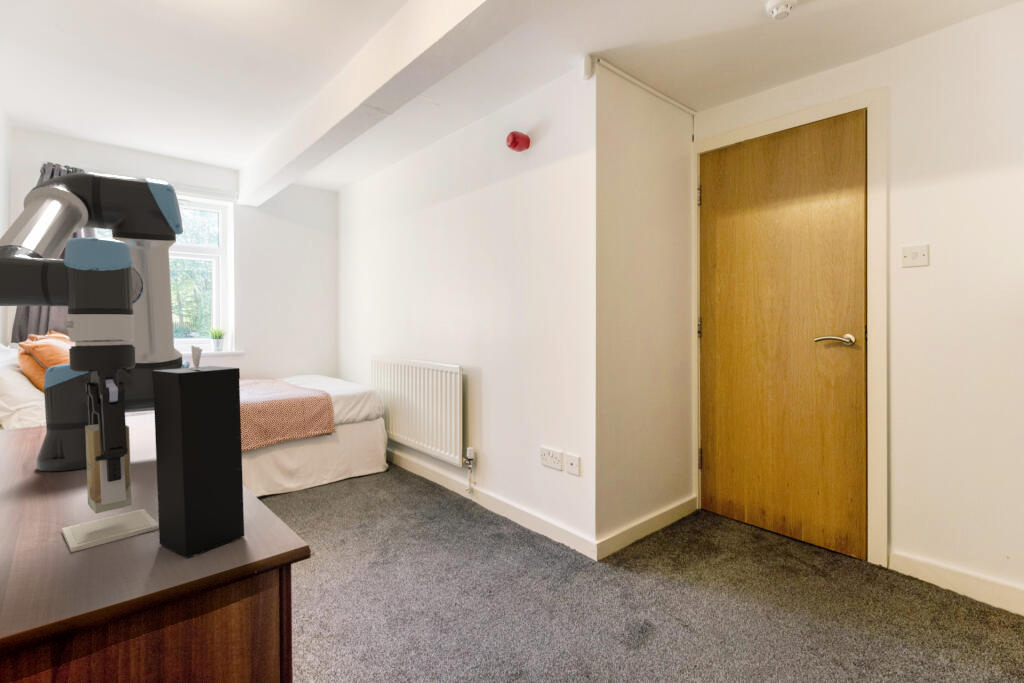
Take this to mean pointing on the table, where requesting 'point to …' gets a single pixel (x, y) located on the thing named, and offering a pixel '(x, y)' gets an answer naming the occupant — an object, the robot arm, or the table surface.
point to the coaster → (108, 529)
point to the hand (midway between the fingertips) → (109, 496)
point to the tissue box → (198, 456)
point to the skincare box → (94, 472)
